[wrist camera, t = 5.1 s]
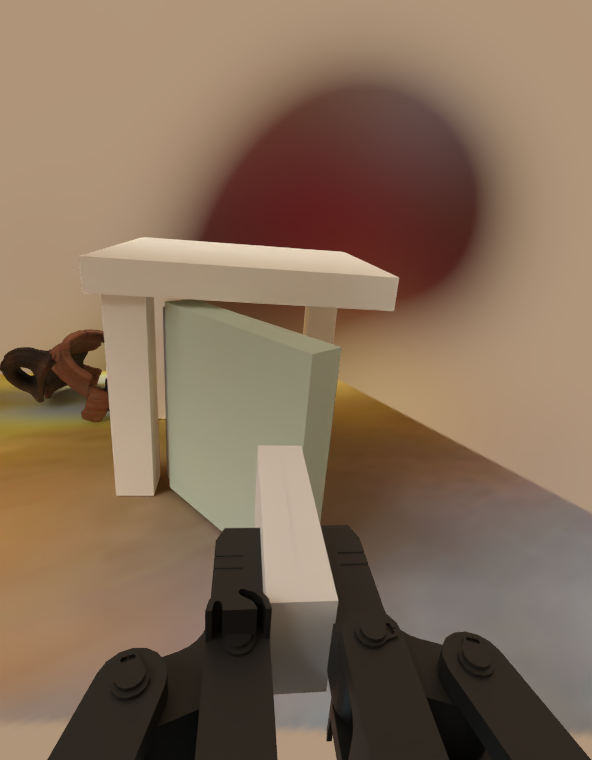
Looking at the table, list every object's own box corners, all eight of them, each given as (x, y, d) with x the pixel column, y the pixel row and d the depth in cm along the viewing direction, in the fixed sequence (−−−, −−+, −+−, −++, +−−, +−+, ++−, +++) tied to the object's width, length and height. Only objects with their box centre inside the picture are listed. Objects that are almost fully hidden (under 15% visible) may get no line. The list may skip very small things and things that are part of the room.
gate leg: (162, 480, 32) (156, 298, 27) (186, 471, 33) (184, 295, 29) (289, 588, 24) (312, 354, 19) (314, 569, 25) (341, 347, 20)
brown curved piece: (122, 382, 51) (145, 329, 46) (132, 450, 45) (159, 397, 41) (-4, 368, 43) (9, 303, 39) (-11, 447, 38) (3, 382, 33)
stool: (101, 502, 30) (78, 255, 24) (149, 404, 44) (142, 237, 39) (363, 502, 32) (399, 277, 26) (326, 409, 47) (344, 252, 41)
